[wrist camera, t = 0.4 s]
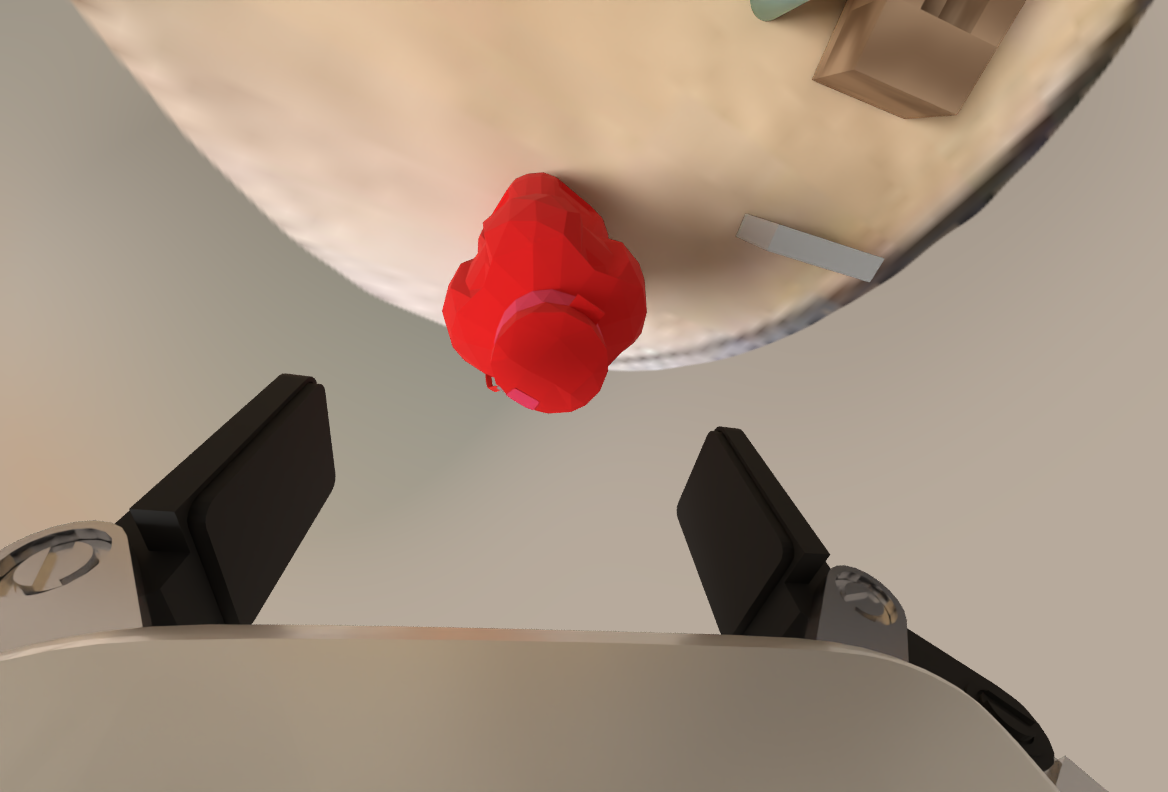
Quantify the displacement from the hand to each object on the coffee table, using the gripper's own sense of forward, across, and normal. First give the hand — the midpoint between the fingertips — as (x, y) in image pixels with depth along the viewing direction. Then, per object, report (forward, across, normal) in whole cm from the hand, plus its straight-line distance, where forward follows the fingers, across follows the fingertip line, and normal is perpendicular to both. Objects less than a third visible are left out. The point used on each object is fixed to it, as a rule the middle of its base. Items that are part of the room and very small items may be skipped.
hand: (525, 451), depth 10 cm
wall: (+30, -23, -4) cm, 38 cm away
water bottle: (+30, 0, +1) cm, 30 cm away
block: (+30, -24, -19) cm, 43 cm away
